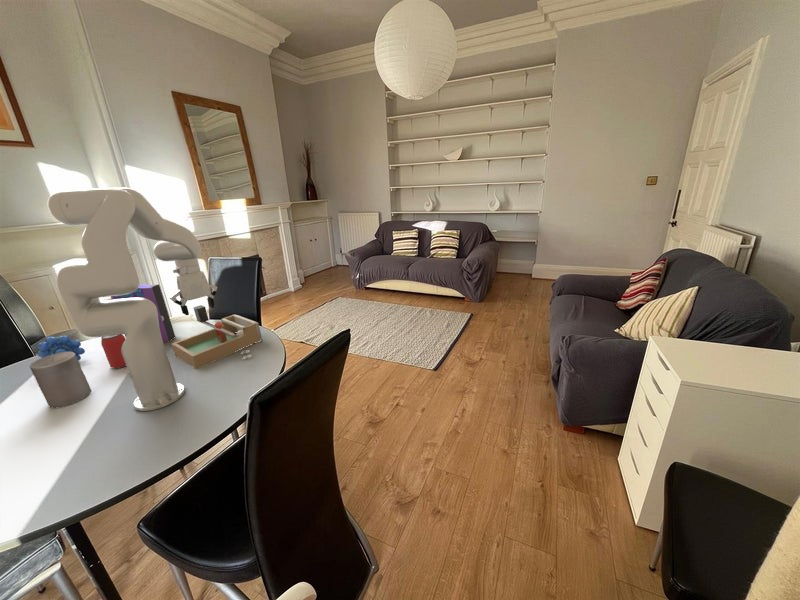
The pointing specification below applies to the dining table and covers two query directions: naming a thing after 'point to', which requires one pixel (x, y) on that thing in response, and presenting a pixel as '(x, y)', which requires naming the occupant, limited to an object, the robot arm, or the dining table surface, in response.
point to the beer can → (114, 350)
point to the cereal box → (157, 298)
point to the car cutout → (246, 353)
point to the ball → (239, 333)
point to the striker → (202, 317)
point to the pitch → (217, 342)
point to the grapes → (60, 346)
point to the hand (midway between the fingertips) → (199, 310)
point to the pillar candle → (60, 379)
